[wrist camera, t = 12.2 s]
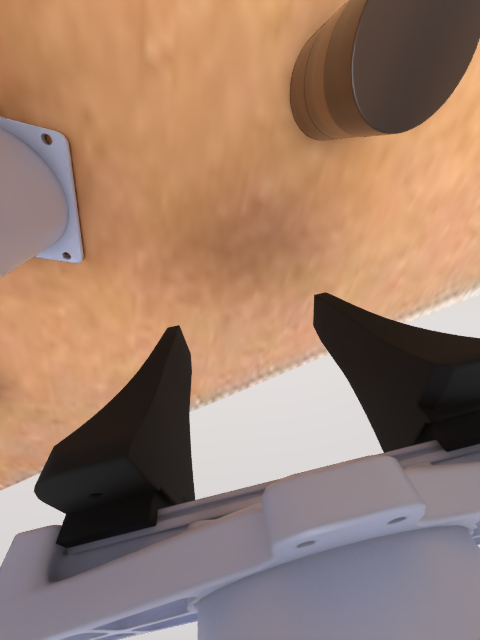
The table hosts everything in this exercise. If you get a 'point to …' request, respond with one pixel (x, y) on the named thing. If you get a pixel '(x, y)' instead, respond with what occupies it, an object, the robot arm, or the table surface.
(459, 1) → the walnut chip
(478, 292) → the table surface
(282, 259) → the table surface
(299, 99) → the oak chip bottom
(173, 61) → the table surface
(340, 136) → the disc
